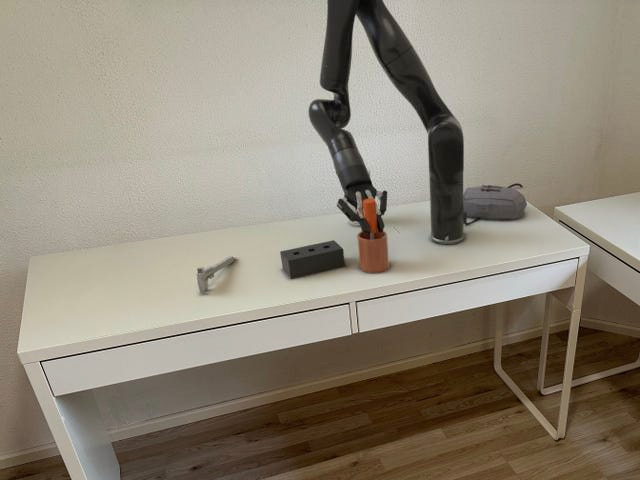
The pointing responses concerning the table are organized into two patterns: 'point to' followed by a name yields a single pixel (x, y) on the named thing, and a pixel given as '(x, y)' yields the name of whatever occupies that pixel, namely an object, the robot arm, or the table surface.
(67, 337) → the table surface
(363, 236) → the pen cup
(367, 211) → the orange screwdriver
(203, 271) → the caliper
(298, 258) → the holder
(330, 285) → the table surface
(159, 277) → the table surface
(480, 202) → the soft grey pack
